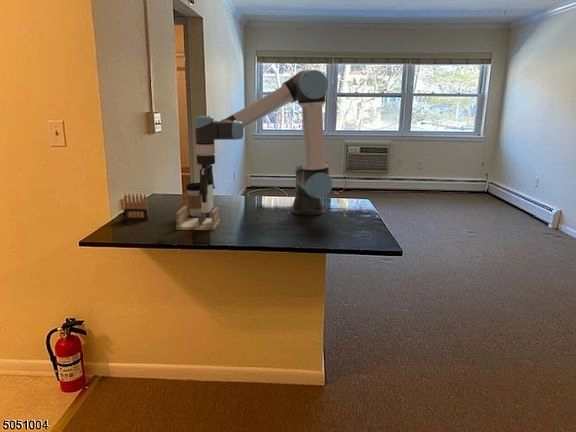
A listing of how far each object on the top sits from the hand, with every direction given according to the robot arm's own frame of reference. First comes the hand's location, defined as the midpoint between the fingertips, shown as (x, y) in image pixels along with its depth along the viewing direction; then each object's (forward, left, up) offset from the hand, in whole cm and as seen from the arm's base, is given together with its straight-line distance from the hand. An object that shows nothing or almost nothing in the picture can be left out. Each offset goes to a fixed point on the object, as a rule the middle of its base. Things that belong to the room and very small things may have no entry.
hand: (207, 206), depth 188 cm
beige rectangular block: (0, 0, -1) cm, 1 cm away
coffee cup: (+9, -17, -8) cm, 21 cm away
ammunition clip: (+34, -8, -9) cm, 36 cm away
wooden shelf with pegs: (+4, 0, -8) cm, 9 cm away
